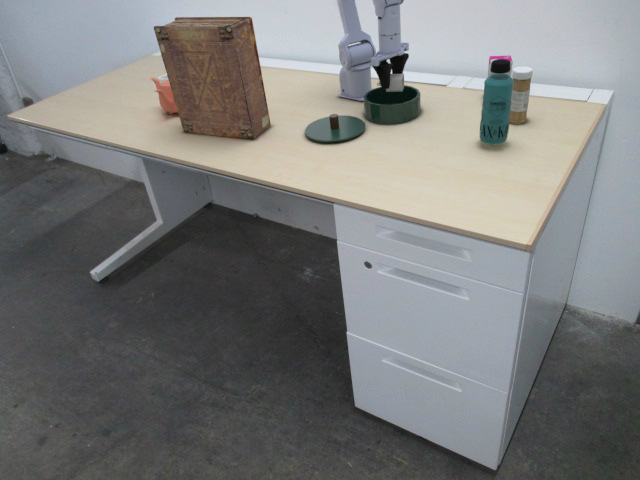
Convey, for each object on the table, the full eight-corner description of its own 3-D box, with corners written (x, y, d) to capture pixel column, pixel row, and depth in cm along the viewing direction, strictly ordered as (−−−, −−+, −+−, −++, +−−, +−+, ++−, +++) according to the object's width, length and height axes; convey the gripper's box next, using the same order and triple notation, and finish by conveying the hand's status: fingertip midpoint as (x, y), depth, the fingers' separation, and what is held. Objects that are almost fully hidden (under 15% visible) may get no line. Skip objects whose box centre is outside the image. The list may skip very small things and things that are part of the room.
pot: (399, 128, 137) (398, 109, 133) (354, 118, 146) (352, 99, 143) (430, 108, 145) (430, 89, 142) (386, 99, 154) (385, 81, 151)
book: (183, 132, 152) (152, 26, 135) (201, 119, 159) (174, 17, 141) (254, 140, 141) (231, 26, 124) (271, 126, 148) (251, 16, 130)
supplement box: (508, 102, 142) (513, 61, 135) (486, 103, 143) (489, 62, 136) (506, 95, 146) (510, 54, 140) (485, 96, 148) (488, 55, 141)
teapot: (208, 111, 163) (200, 77, 157) (164, 122, 160) (153, 88, 154) (201, 97, 175) (192, 65, 168) (159, 108, 172) (149, 75, 165)
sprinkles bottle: (517, 115, 135) (523, 64, 127) (530, 121, 131) (537, 68, 123) (503, 120, 133) (508, 68, 125) (516, 126, 130) (522, 73, 122)
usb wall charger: (402, 92, 139) (401, 77, 136) (376, 92, 141) (376, 78, 138) (404, 87, 142) (403, 72, 139) (379, 87, 144) (378, 73, 141)
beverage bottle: (474, 140, 126) (480, 58, 114) (501, 137, 126) (509, 54, 114) (484, 152, 120) (490, 67, 109) (512, 148, 120) (521, 63, 109)
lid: (338, 149, 131) (337, 133, 128) (293, 136, 140) (290, 121, 138) (377, 125, 140) (376, 109, 137) (332, 115, 149) (330, 100, 147)
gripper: (385, 42, 126) (387, 95, 134) (418, 26, 134) (418, 77, 142) (362, 39, 130) (366, 91, 138) (395, 24, 139) (397, 74, 146)
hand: (391, 84), depth 141 cm, fingers closed on usb wall charger, 5 cm apart
